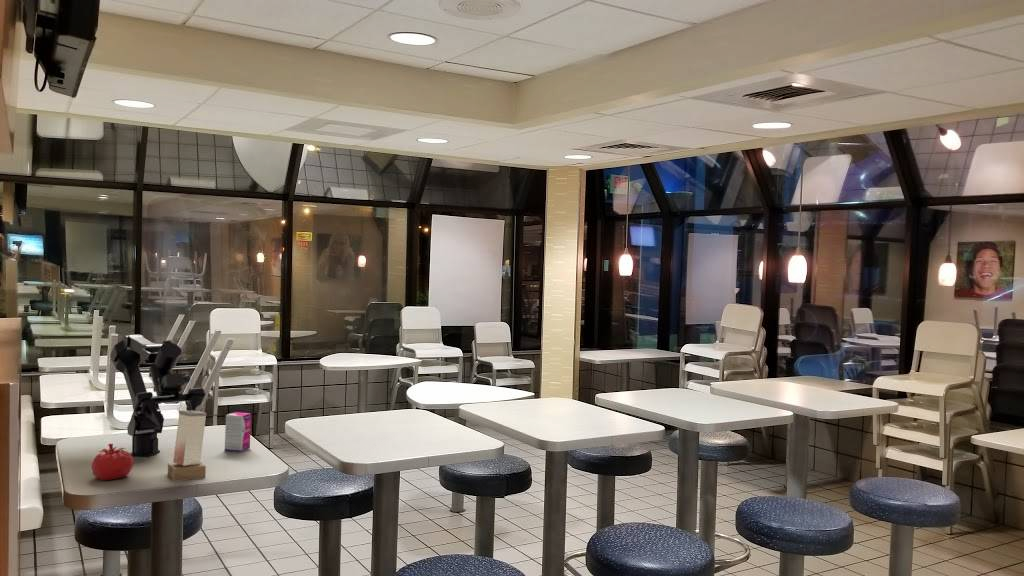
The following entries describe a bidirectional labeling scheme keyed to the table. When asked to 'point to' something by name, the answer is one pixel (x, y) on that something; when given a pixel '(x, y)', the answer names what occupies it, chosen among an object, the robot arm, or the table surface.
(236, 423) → the supplement box
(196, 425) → the white tall block
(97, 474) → the red tomato
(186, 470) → the walnut block
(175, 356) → the robot arm
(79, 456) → the table surface
